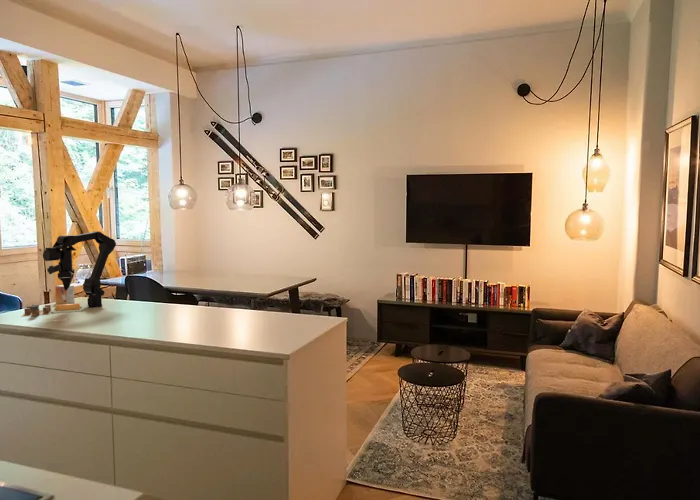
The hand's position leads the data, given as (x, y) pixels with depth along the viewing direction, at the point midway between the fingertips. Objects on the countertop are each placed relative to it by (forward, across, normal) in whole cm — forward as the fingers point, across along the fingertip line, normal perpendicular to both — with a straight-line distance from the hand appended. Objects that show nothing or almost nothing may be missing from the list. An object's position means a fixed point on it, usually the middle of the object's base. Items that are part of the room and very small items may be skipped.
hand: (67, 289), depth 263 cm
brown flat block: (+12, +1, -14) cm, 18 cm away
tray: (+12, 0, 0) cm, 12 cm away
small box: (+12, -25, -4) cm, 28 cm away
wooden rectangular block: (+12, 0, 0) cm, 12 cm away
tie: (+8, +11, -14) cm, 19 cm away
